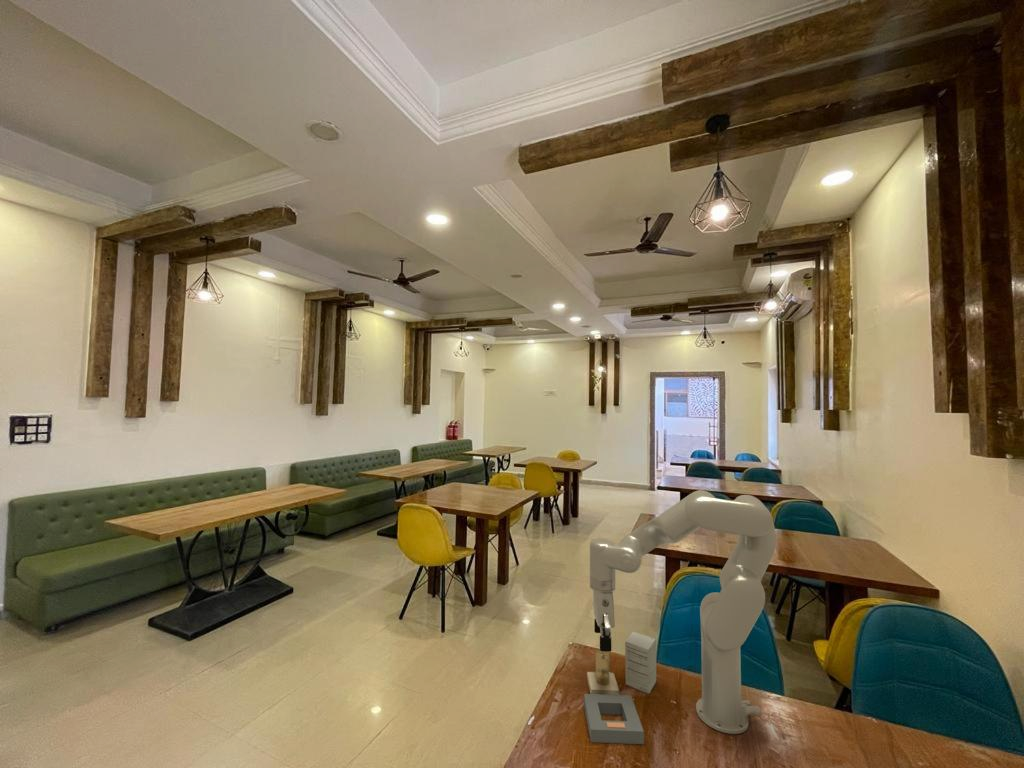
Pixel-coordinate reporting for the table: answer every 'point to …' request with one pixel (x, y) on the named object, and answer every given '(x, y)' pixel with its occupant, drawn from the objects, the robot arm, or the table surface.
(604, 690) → the beige square plate
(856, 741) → the table surface
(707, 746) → the table surface
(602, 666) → the brass peg
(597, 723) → the hole plate
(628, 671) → the supplement box
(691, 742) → the table surface
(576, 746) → the table surface
